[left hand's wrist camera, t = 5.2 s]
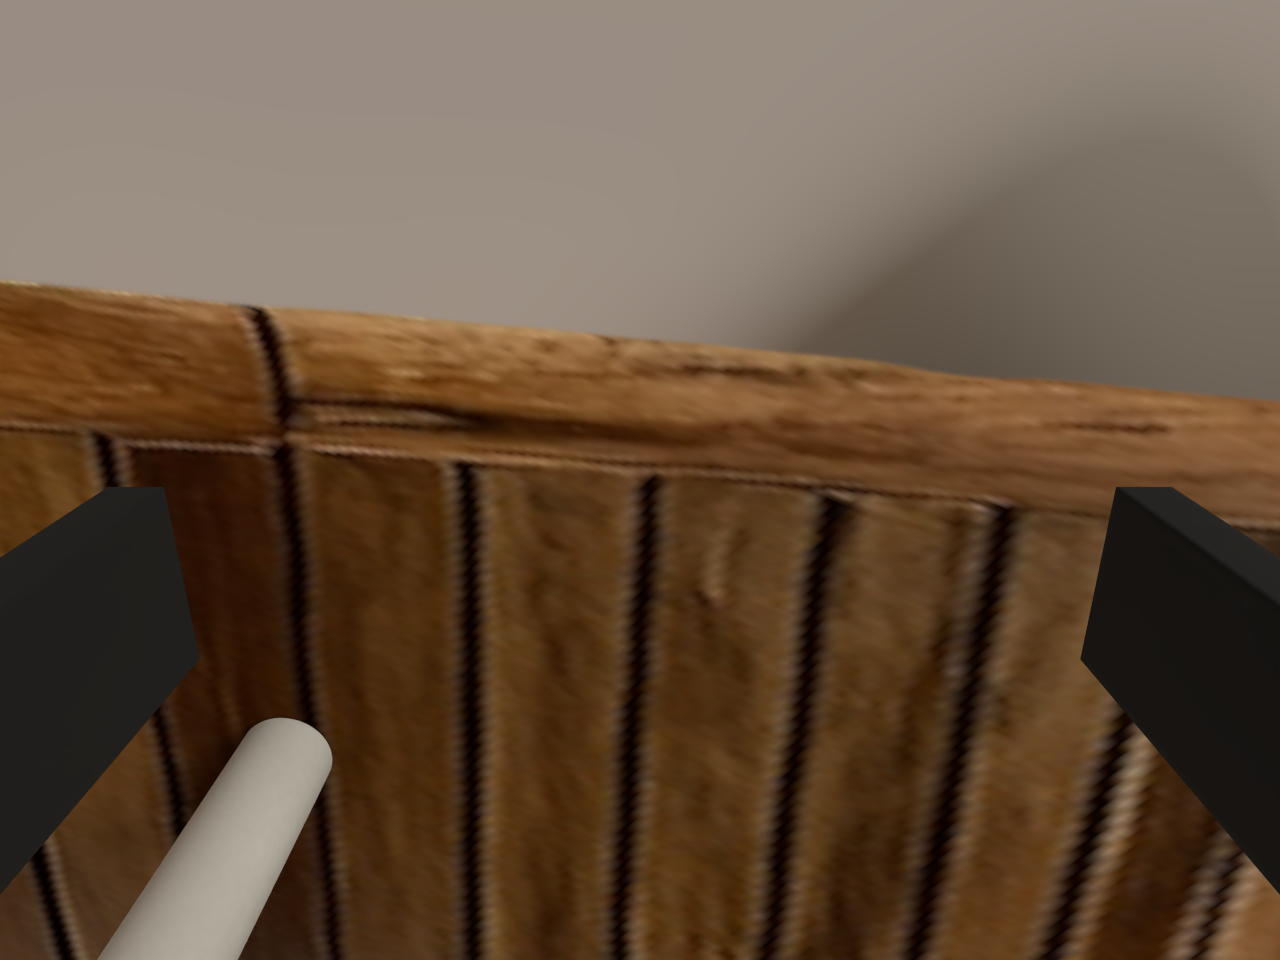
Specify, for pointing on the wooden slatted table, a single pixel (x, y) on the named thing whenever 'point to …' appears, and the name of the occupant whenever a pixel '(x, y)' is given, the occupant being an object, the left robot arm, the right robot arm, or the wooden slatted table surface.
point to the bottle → (229, 850)
